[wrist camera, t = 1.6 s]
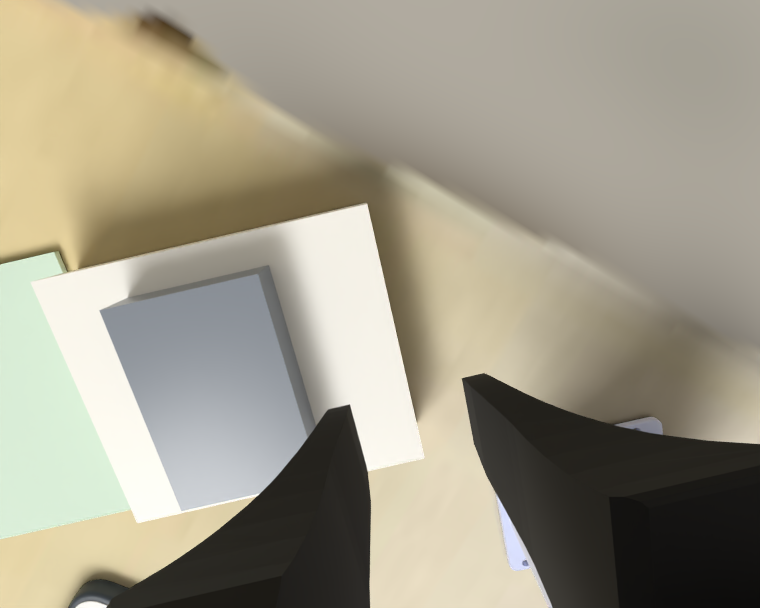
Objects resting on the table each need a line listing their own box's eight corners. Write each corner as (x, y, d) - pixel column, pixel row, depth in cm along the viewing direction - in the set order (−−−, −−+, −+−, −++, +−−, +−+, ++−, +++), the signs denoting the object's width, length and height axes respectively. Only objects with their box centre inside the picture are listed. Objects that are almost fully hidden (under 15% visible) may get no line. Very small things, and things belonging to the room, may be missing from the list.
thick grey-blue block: (268, 265, 18) (257, 273, 16) (324, 452, 20) (320, 479, 18) (127, 297, 18) (99, 310, 16) (198, 480, 20) (181, 511, 18)
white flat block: (365, 202, 20) (367, 203, 17) (416, 425, 23) (424, 458, 20) (77, 269, 20) (30, 282, 17) (165, 482, 23) (137, 523, 20)
